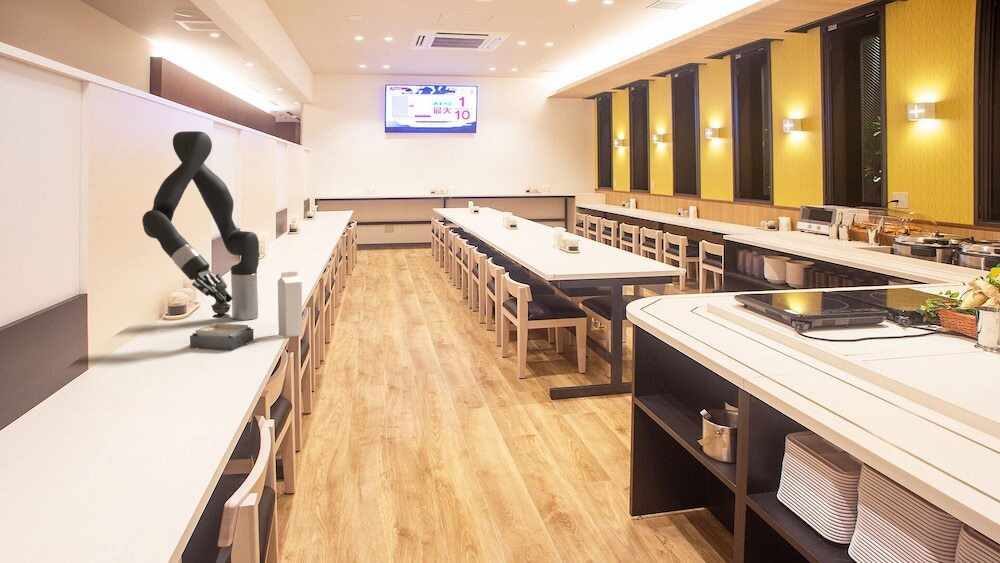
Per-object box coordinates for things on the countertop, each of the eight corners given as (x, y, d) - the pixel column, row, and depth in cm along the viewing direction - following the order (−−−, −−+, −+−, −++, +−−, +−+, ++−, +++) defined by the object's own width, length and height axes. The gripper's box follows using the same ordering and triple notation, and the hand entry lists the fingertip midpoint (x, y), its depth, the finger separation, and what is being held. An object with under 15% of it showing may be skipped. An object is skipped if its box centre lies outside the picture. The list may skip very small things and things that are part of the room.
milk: (302, 335, 238) (302, 272, 234) (286, 337, 233) (285, 273, 230) (294, 332, 242) (293, 270, 239) (278, 334, 238) (277, 271, 235)
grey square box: (214, 338, 229) (213, 322, 229) (253, 340, 228) (253, 324, 227) (190, 348, 216) (189, 331, 215) (232, 350, 214) (231, 333, 213)
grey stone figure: (214, 314, 223) (214, 278, 221) (233, 314, 223) (232, 278, 222) (208, 318, 217) (207, 280, 215) (227, 318, 218) (227, 281, 216)
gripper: (185, 256, 211) (223, 297, 212) (209, 252, 225) (245, 290, 226) (169, 272, 213) (207, 313, 213) (195, 267, 227) (230, 305, 227)
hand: (226, 301), depth 219 cm, fingers closed on grey stone figure, 3 cm apart
